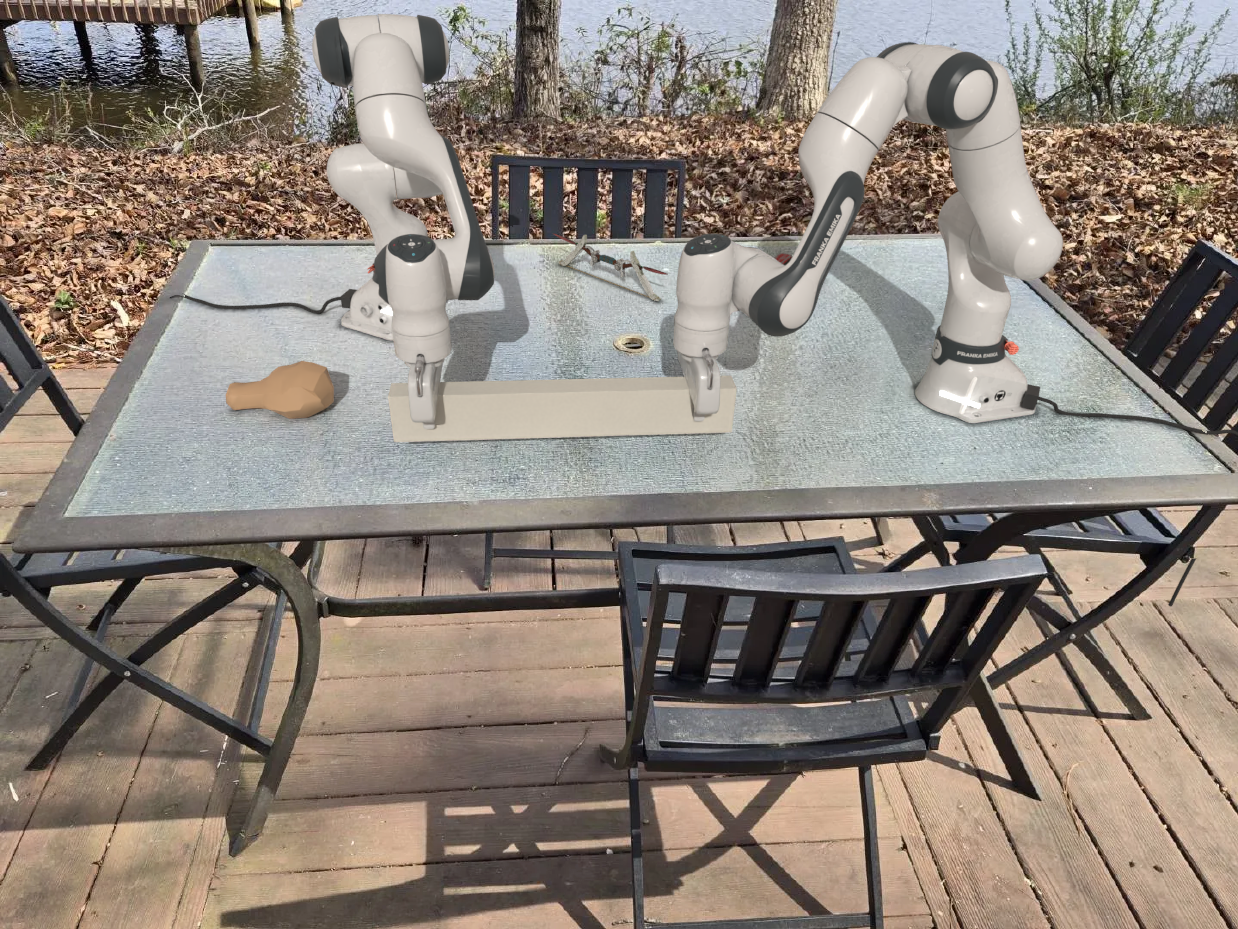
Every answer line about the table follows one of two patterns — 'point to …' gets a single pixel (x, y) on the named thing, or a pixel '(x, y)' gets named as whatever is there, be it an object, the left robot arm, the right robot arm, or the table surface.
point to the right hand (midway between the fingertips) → (695, 410)
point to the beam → (560, 409)
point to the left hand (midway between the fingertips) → (430, 417)
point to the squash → (286, 391)
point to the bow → (618, 264)
